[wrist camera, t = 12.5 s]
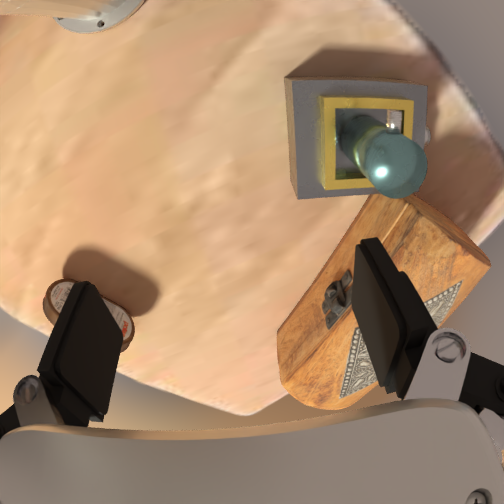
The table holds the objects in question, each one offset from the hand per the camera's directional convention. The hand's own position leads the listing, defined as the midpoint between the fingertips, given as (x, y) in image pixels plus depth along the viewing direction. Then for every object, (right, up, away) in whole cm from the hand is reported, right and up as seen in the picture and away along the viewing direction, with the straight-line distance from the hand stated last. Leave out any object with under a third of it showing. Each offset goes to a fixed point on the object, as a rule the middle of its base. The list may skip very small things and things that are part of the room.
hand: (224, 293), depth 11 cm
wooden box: (+17, -2, +35) cm, 39 cm away
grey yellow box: (+12, +15, +22) cm, 29 cm away
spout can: (+12, +12, +18) cm, 25 cm away
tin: (-23, -5, +35) cm, 42 cm away
